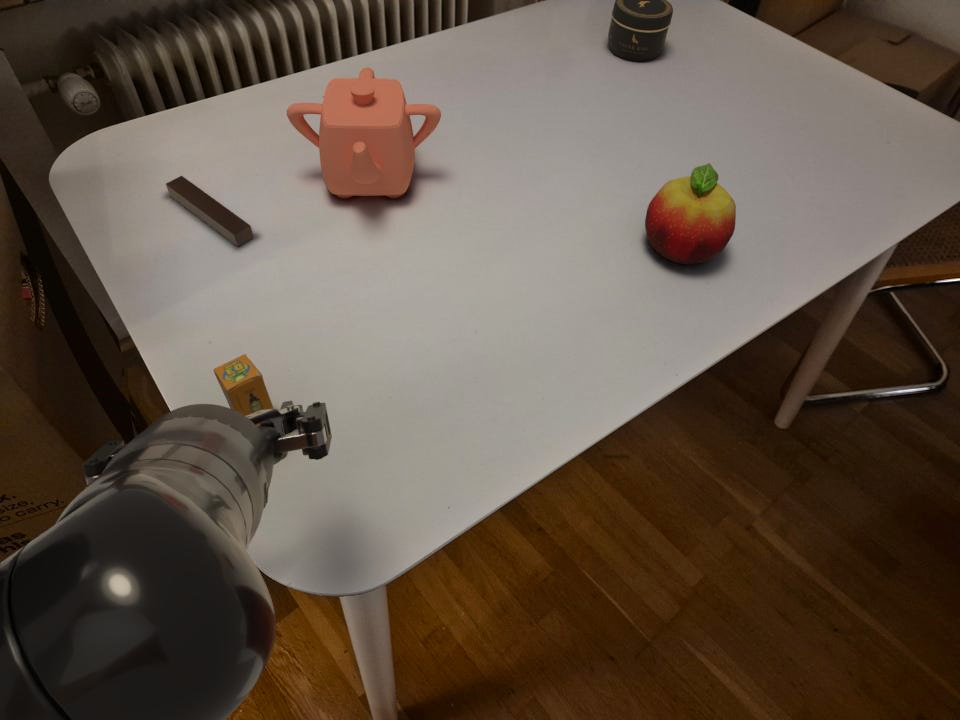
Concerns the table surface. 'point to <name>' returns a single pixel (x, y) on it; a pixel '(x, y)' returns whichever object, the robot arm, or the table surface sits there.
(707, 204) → the fruit
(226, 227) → the walnut stick
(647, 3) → the jar
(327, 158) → the teapot
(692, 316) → the table surface
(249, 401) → the supplement box
